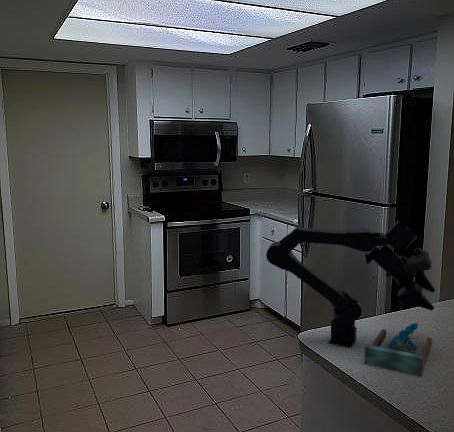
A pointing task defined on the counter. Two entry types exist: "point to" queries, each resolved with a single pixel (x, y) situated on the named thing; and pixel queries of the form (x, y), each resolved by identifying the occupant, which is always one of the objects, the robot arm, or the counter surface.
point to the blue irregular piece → (404, 336)
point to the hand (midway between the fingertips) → (433, 300)
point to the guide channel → (396, 356)
